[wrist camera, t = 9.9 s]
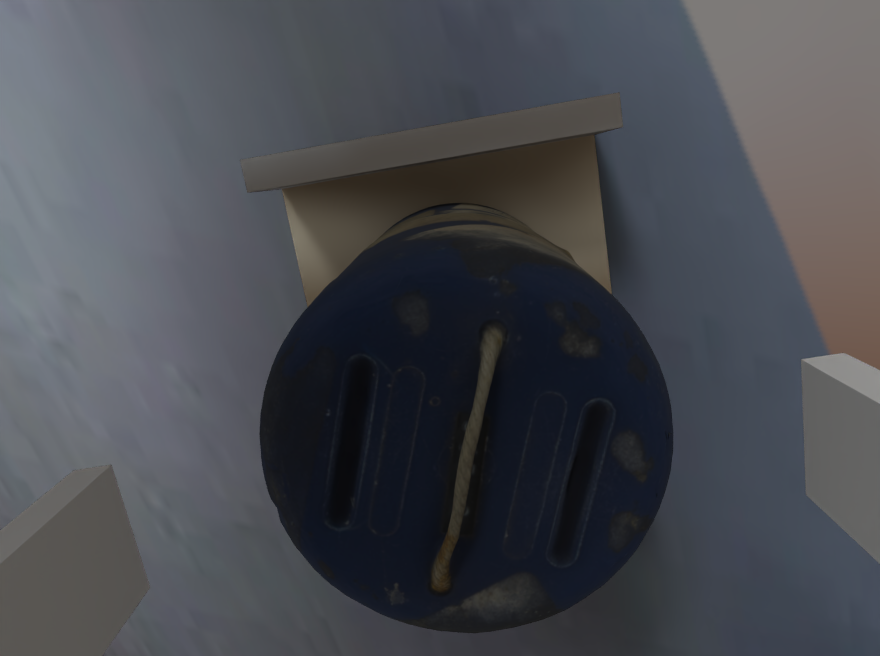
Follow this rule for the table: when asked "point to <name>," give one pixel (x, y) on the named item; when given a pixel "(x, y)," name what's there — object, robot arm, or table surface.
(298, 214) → the keeper cradle
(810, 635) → the table surface
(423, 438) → the canister
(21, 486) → the table surface
